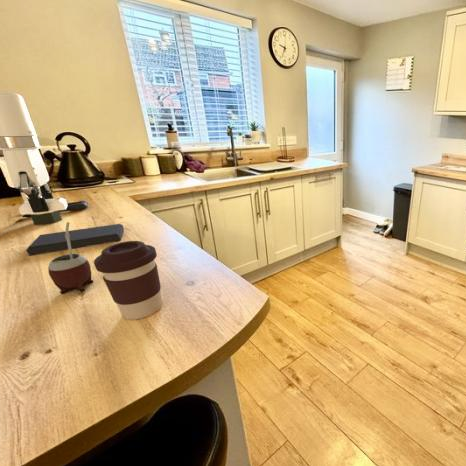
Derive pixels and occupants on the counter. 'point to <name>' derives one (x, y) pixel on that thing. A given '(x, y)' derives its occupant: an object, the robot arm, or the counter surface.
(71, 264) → the mate gourd
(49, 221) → the wine bottle
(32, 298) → the counter surface
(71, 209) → the door handle
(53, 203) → the soap bar
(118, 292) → the coffee cup
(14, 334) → the counter surface
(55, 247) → the dark grey flat bar
